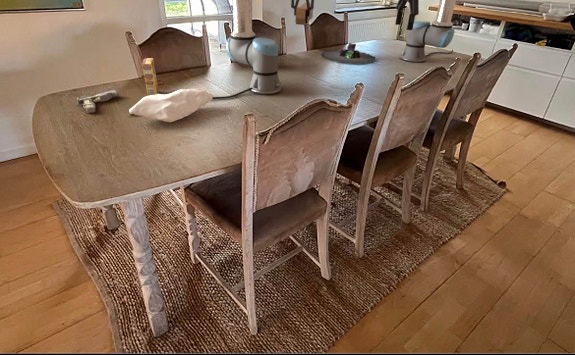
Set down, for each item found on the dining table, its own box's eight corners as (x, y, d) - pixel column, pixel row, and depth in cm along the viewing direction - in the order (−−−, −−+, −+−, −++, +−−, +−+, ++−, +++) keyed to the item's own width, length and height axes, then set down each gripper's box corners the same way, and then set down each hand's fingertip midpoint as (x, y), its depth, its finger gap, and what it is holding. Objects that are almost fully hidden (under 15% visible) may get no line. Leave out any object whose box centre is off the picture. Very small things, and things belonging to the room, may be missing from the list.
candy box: (157, 97, 164) (152, 63, 155) (147, 98, 163) (141, 63, 155) (158, 91, 171) (153, 57, 163) (149, 91, 170) (143, 58, 162)
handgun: (128, 97, 156) (111, 87, 164) (86, 107, 144) (70, 97, 152) (129, 103, 157) (113, 94, 165) (88, 114, 146) (72, 103, 154)
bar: (304, 24, 203) (305, 9, 198) (295, 24, 204) (296, 8, 199) (312, 17, 224) (313, 3, 220) (304, 17, 225) (305, 2, 220)
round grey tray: (386, 59, 233) (388, 44, 229) (346, 66, 216) (347, 50, 211) (349, 51, 258) (350, 37, 253) (310, 56, 240) (311, 42, 236)
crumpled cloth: (117, 110, 146) (113, 90, 140) (195, 92, 166) (194, 73, 160) (143, 139, 134) (140, 118, 128) (223, 116, 154) (224, 96, 148)
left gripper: (321, -24, 195) (318, 22, 208) (289, -26, 198) (287, 20, 211) (319, -24, 189) (316, 24, 201) (285, -26, 192) (284, 22, 205)
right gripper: (433, -18, 163) (421, 32, 174) (408, -23, 183) (400, 22, 195) (417, -19, 162) (407, 32, 173) (394, -23, 182) (386, 22, 194)
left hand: (301, 22), depth 206 cm, fingers closed on bar, 5 cm apart
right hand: (403, 27), depth 184 cm, fingers open, 13 cm apart
